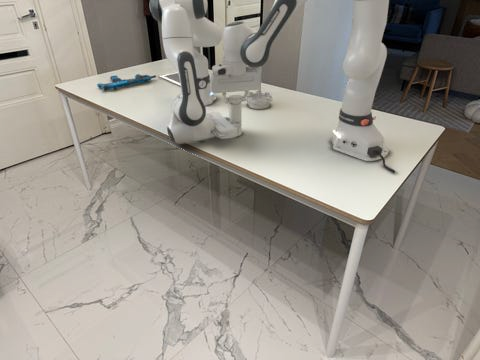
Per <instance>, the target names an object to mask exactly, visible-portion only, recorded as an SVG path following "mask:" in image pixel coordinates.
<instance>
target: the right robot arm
mask: <svg viewBox="0 0 480 360" xmlns="http://www.w3.org/2000/svg"><path fill="white" fill-rule="evenodd" d="M307 1H308V0H274V3H273V5H272V7H271V9H270V11H269V13H268V14H267V15H266V18H265V19H264V20H263V22H262V24H261V25H260V27H259V28H258V29H254V28H252V26H251V27H250V26H249V25H248V24H246V22H245V21H234V22H231V23H230V22H229V23H228V24H226V25H225V27H224V29H223V32H222V49H223V52H224V54H223V61H222V62H220V63H216V64H214V65H212V67H211V70H212V71H211V74H210V90H211V92H212V93H213V94H222V97H223V98H224V102H225V104H229V98H228V97H229V96H226V95H227V93H235V92H237V93H238V92H244V93H243V95H241V96H242V102H247V100H246V97H247V95H248V94H249V92H251V91H258V89H259V88H260V78H259V76H260V68H259V67H260V66H262V67H263V66H264V65H265V64H266V63H267V61H268V59H269V57H270V53H271V52H270V51H271V50H272V45H273V43H274V41H275V40H276V38H277V36H278V35H279V33H280V32H281V30H282V29H283V27H284V26H285V24H286V23H287V21H288V20H289V19H290V18H291V17H292V16H293V15H294V14H295V13H296V12H297V11H298V10H299V9H300V8H301V7H302V6H303V5H304V4H305V3H306V2H307ZM352 4H353V5H352V6H353V7H352V18H351V28H350V34H349V39H348V42H347V48H346V53H345V57H344V59H343V62H342V71H343V73H344V75H345V76H346V77H347V78H348V80H347V83H346V86H345V87H344V91H343V98H342V103H341V108H340V109H339V113H338V122H337V123H338V124H337V127H336V130H335V129H333V130H332V132H333V133H334V135H333V137H332V139H331V144H332V149H333V150H334V151H336V152H340V153H343V154H344V155H345V154H346V155H348V156H351V157H354V158H356V159H359V160H361V161H365V162H374V161H379V160H382V165H383V167H384V168H385V169H386V170H388V171H390V172H392V173H395V172H396V170H394V169H393V168H390V167H389V166H387V164H386V159H385V157H387V155H388V154H389V152H390V150H389V148H387V147H386V146H385V138H384V135H383V134H382V133H381V131H379V128H377V126H376V125H375V124H374V121H375V120H376V119H377V116H373V113H372V109H373V104H374V100H375V95H376V92H377V89H378V87H379V83H380V81H381V80H380V79H381V77H382V73H383V71H384V67H385V63H386V60H387V56H388V49H387V46H386V45H385V44H384V43H383V42H382V41H383V37H384V32H385V29H386V26H387V24H388V23H387V22H388V14H389V12H388V11H389V4H390V0H353V3H352Z"/></svg>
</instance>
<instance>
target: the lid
mask: <svg viewBox="0 0 480 360" xmlns="http://www.w3.org/2000/svg"><path fill="white" fill-rule="evenodd" d="M242 96H243V95H240V94H231V95H229V96H227V97H228V98H229V102H230V103H240V102H241V103H242V102H243V101H242Z"/></svg>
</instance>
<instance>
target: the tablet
mask: <svg viewBox="0 0 480 360" xmlns="http://www.w3.org/2000/svg"><path fill="white" fill-rule="evenodd" d="M158 77H159V78H161V79H163V80H166V81H167V82H170V83H173V84H175V85H177V86H179V87H181V85H180V79H179V74H178V72H177V71H175V72H171V73H167V74H163V75H158Z"/></svg>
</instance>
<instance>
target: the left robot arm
mask: <svg viewBox="0 0 480 360" xmlns="http://www.w3.org/2000/svg"><path fill="white" fill-rule="evenodd" d="M208 6H209V5H208V0H149V11H150V13H151V16H152V18H153V19H154V20H155V21H156V22H159V24H161V37H162V39H161V40H162V46H163V47H162V48H163V51H164V54H165V57H166V60H167V61H168V62H169V63H171V65H172V66H173V67H174V68H175V70H176V72H178V74H179V79H180V85H181V86H180V94H179V97H177V98H175V99H174V101H173V102H172V104H171V114H170V119H169V123H168V125H167V127H166V130H167V134H168V137H169V139H170V140H171V142H172V143H174V144H175V145H182V144H183V145H184V144H189V143H193V142H196V141H203V140H204V141H205V140H208V139H213V138H214V137H216V138H219V139H222V140H224V139H225V140H226V139H232V138H233V139H234V138H236V137H238V136H237V128H239V127H241V128H242V126H243V125H242V122H241V123H240V122H237V123H236V124H235V125H234V124H231V123H230V116H223V115H222V114H221V113H219V112H218V111H217V112H215V111H213V112H207V108H206V106H210V105H211V104H213V103H214V102H215V101H216V100H217V96H215V93H212V92H211V90H210V78H211V74H210V73H209V71H210V70H209V60H208V58H207V57H206V56H205V55H204V54H202V53H200V52H199V51H198V50H197V48H210V47H217V46H218V45H219V44H220V43H221V41H222V40H223V32H222V29H221V27H220V25H219V24H217V23H215V22H213V21H211V20H210V19H208V18H207V17H205V16H206V15H207V12H208Z"/></svg>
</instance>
